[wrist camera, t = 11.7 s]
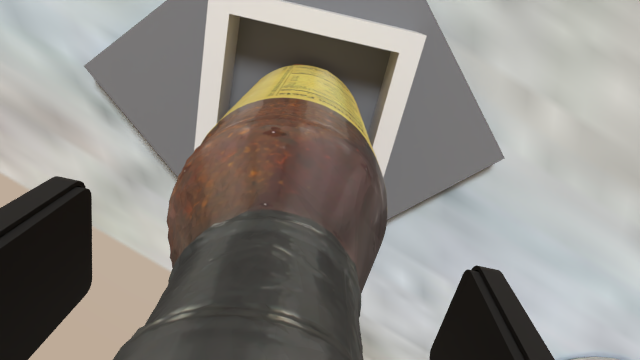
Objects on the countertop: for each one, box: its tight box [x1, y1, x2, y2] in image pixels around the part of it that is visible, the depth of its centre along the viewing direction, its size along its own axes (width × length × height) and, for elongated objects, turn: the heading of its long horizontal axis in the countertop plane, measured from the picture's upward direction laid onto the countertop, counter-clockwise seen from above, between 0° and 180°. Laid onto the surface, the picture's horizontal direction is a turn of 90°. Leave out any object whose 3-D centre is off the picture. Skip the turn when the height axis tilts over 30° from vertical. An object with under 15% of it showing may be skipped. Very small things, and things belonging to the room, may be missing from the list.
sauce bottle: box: [113, 64, 387, 360], centre depth 14 cm, size 6×6×20 cm
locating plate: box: [84, 0, 504, 220], centre depth 22 cm, size 17×17×4 cm
